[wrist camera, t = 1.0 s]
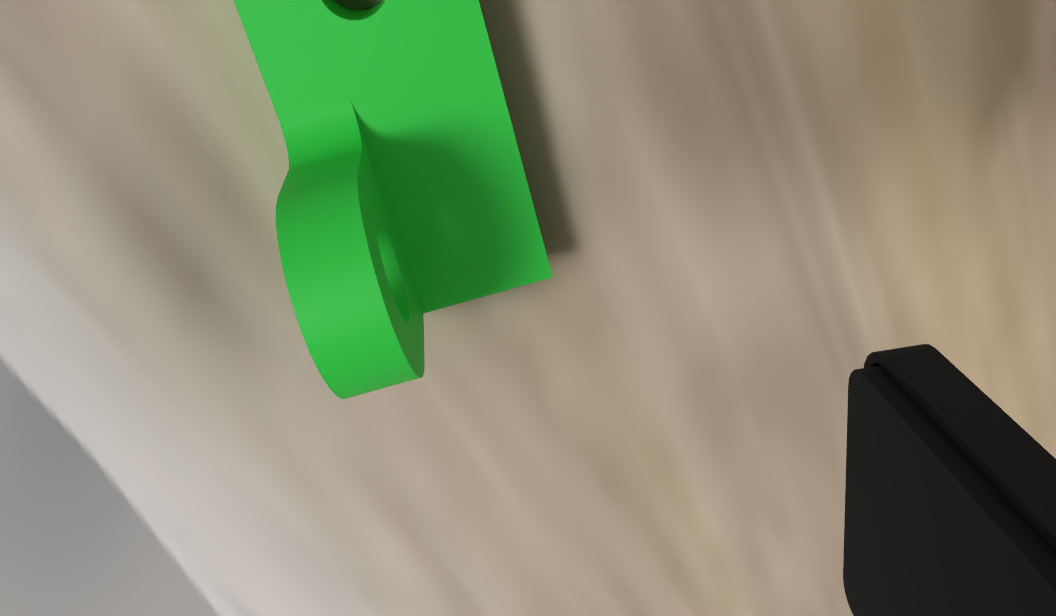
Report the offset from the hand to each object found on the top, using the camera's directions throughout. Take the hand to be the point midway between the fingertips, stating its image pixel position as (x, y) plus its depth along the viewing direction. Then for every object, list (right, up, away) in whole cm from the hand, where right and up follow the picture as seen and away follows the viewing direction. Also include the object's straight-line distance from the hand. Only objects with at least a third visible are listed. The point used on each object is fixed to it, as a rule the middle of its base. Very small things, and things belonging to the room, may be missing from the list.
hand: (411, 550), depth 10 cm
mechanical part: (-3, +9, +18) cm, 20 cm away
